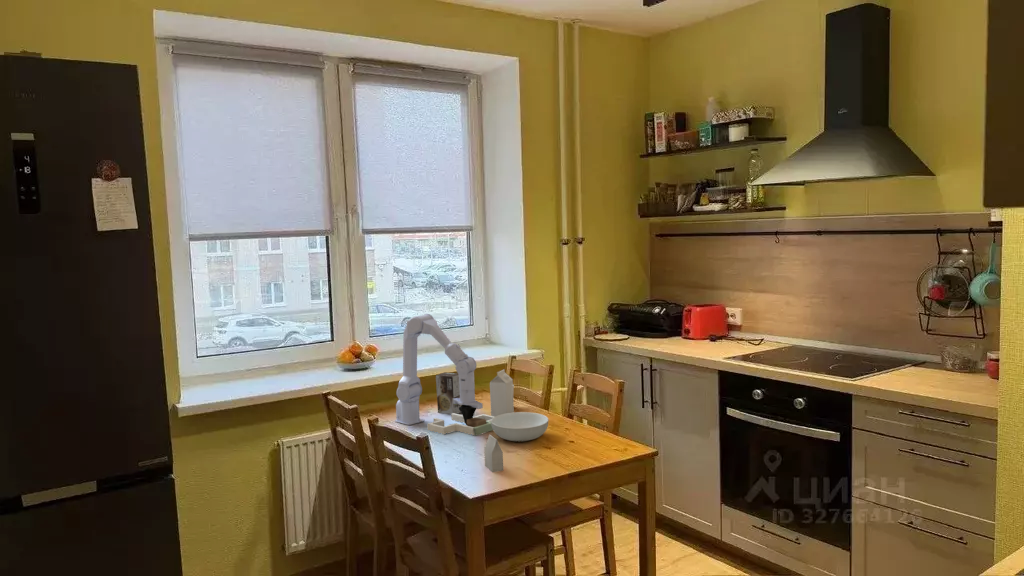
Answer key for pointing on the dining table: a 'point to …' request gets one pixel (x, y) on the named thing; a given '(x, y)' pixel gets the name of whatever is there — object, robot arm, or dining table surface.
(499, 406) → the milk carton
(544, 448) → the dining table surface
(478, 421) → the walnut block
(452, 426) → the trap channel
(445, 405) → the coffee box
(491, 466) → the gray house block
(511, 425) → the serving bowl
